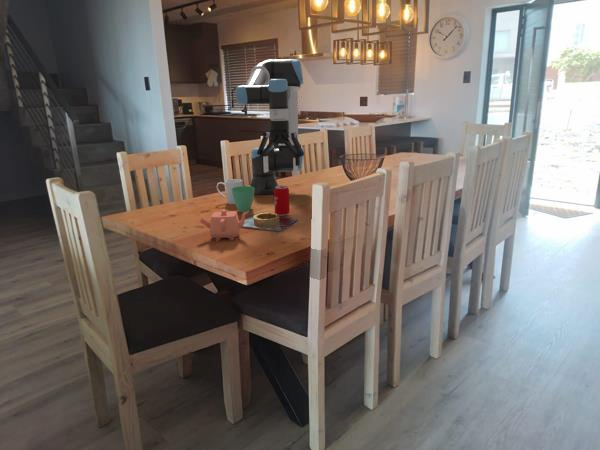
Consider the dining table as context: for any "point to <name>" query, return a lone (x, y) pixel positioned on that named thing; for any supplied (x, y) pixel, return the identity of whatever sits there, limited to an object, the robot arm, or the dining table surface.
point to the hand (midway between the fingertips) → (280, 172)
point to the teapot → (224, 224)
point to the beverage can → (281, 200)
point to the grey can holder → (268, 222)
